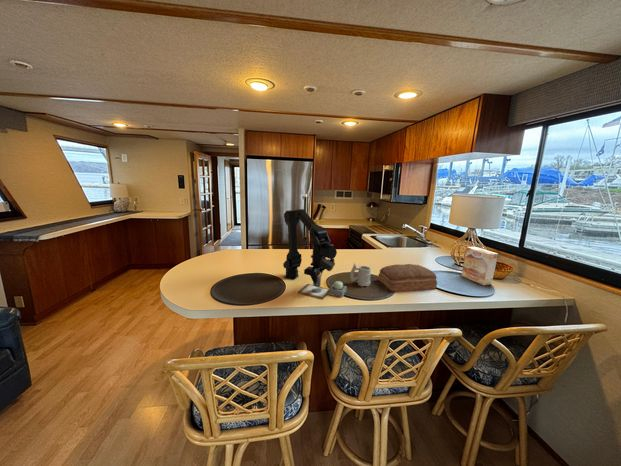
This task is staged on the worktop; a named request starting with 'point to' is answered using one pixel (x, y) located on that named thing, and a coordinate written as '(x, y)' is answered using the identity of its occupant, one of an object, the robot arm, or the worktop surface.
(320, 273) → the marker
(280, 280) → the worktop surface
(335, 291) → the button collar
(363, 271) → the mug
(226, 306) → the worktop surface
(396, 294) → the worktop surface
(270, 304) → the worktop surface
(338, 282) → the button
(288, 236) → the robot arm
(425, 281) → the bread
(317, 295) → the picture frame
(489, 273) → the coffeecake box
